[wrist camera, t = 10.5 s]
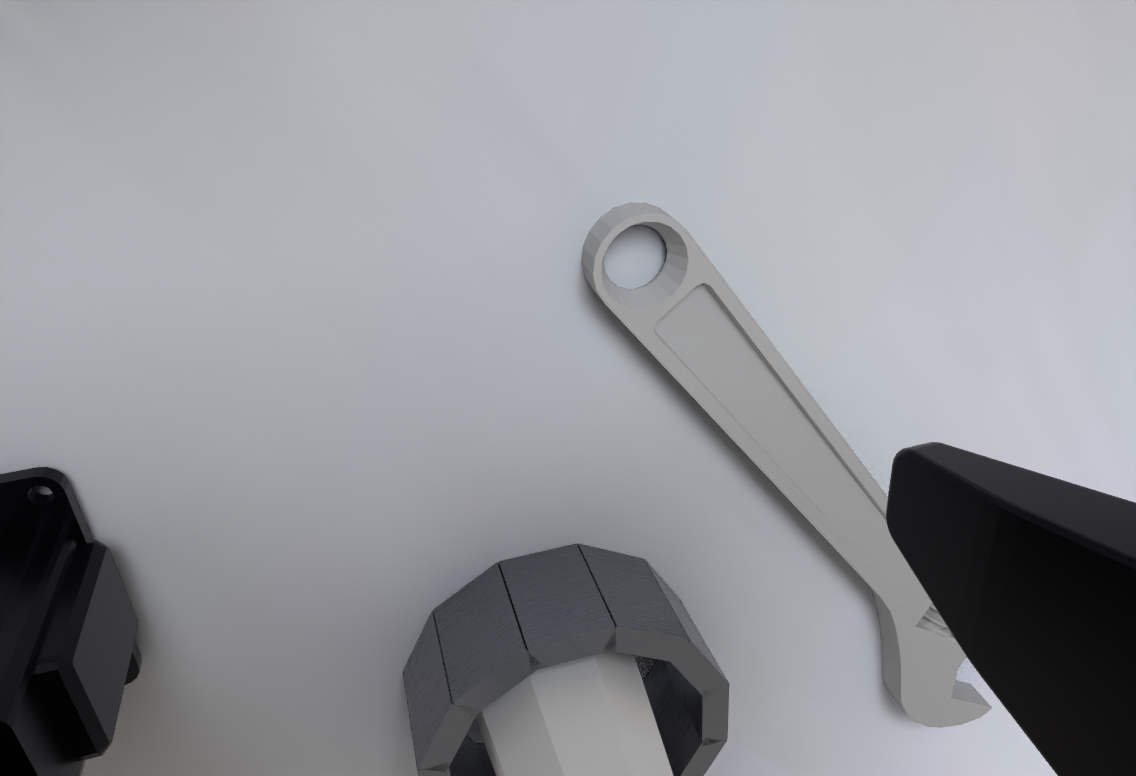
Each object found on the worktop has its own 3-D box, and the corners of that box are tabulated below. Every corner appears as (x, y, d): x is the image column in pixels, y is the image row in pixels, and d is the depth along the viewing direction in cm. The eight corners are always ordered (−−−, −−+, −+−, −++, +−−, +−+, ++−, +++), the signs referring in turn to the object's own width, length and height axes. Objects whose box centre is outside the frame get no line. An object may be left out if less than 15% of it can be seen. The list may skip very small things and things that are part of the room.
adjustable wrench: (549, 245, 21) (568, 268, 20) (757, 80, 21) (794, 90, 19) (907, 715, 34) (935, 751, 33) (1041, 618, 34) (1076, 650, 32)
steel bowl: (429, 795, 28) (445, 897, 25) (384, 588, 24) (397, 682, 21) (681, 723, 30) (724, 810, 27) (681, 519, 26) (732, 596, 23)
